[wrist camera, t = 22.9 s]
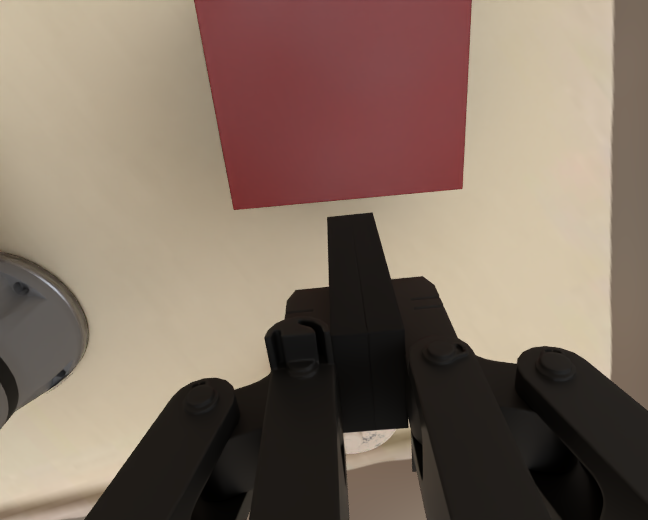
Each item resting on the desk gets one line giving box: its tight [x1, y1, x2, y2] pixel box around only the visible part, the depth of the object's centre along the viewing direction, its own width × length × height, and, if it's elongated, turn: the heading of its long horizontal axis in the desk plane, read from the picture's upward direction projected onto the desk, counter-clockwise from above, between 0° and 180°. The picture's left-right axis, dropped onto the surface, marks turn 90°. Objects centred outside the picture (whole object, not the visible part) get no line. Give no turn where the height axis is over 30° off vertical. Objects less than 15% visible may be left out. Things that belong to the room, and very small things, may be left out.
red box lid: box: [194, 0, 472, 210], centre depth 28 cm, size 16×14×1 cm
